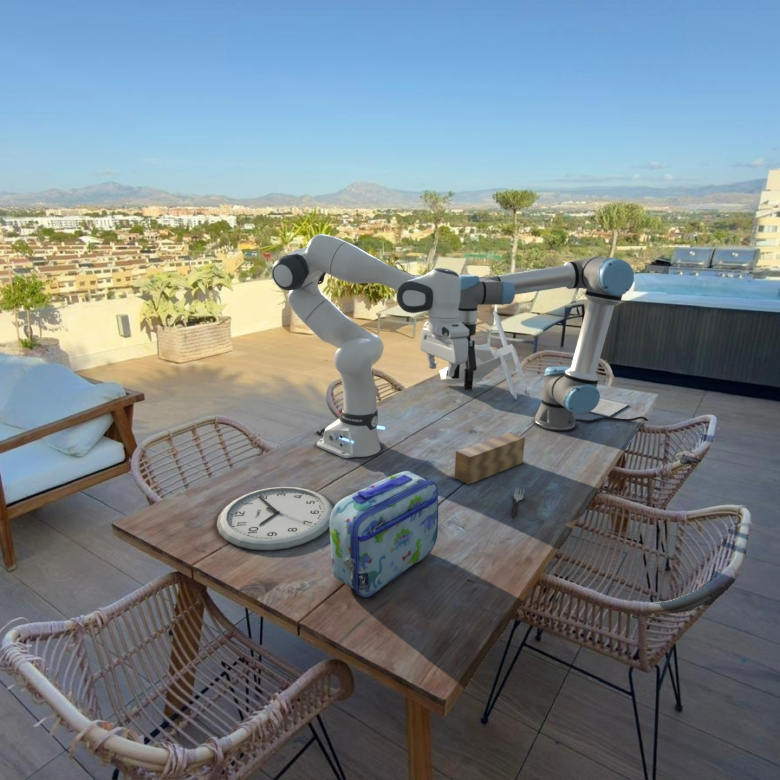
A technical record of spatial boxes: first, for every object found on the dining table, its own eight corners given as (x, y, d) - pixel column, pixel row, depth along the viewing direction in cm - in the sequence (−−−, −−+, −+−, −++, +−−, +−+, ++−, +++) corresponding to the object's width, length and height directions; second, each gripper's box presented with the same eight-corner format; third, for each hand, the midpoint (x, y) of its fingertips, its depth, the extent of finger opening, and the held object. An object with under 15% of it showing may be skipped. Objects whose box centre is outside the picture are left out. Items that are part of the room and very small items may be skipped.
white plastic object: (461, 429, 252) (437, 405, 227) (444, 352, 274) (420, 323, 250) (535, 404, 240) (518, 377, 215) (510, 326, 262) (492, 293, 237)
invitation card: (608, 416, 214) (573, 407, 224) (608, 416, 214) (573, 408, 224) (628, 404, 229) (594, 396, 238) (628, 405, 229) (594, 397, 238)
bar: (508, 456, 175) (511, 432, 172) (522, 462, 171) (525, 437, 168) (454, 477, 160) (455, 450, 157) (468, 484, 156) (469, 457, 153)
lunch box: (357, 610, 104) (357, 517, 98) (324, 584, 111) (322, 496, 105) (442, 556, 121) (446, 474, 115) (408, 536, 129) (411, 459, 122)
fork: (507, 519, 137) (507, 512, 137) (515, 491, 152) (515, 485, 151) (517, 521, 136) (518, 514, 136) (524, 493, 151) (524, 487, 150)
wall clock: (333, 542, 123) (202, 546, 121) (333, 547, 124) (203, 552, 121) (335, 482, 152) (229, 485, 149) (335, 487, 152) (230, 490, 150)
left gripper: (415, 321, 159) (414, 365, 163) (454, 333, 141) (451, 382, 146) (433, 319, 161) (431, 363, 166) (473, 331, 144) (469, 379, 148)
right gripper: (443, 316, 185) (440, 374, 191) (466, 329, 162) (462, 395, 168) (463, 316, 186) (459, 373, 193) (489, 329, 163) (485, 393, 169)
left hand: (441, 372), depth 155 cm, fingers open, 8 cm apart
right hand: (461, 383), depth 180 cm, fingers open, 13 cm apart
